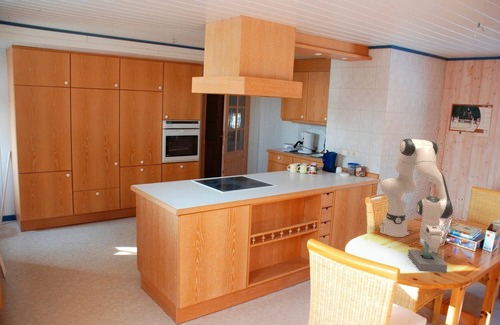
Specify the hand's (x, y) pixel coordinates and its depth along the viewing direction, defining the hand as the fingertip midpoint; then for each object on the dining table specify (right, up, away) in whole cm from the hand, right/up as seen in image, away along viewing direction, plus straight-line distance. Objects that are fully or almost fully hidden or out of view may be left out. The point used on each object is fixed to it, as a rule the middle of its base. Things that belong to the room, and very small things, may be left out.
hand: (427, 250), depth 217 cm
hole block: (0, -8, +1) cm, 8 cm away
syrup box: (+9, -6, +16) cm, 20 cm away
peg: (0, -5, +1) cm, 5 cm away
